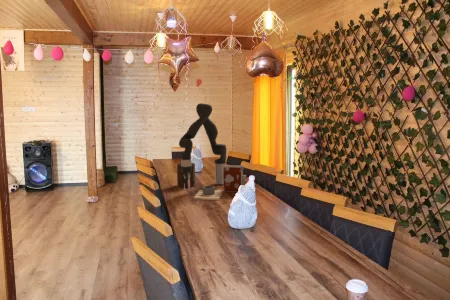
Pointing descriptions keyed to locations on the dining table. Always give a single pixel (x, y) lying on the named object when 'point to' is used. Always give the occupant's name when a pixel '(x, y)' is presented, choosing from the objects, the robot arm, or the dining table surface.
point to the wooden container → (180, 174)
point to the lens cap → (188, 186)
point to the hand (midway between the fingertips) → (187, 187)
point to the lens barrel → (208, 190)
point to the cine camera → (233, 177)
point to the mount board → (208, 197)
